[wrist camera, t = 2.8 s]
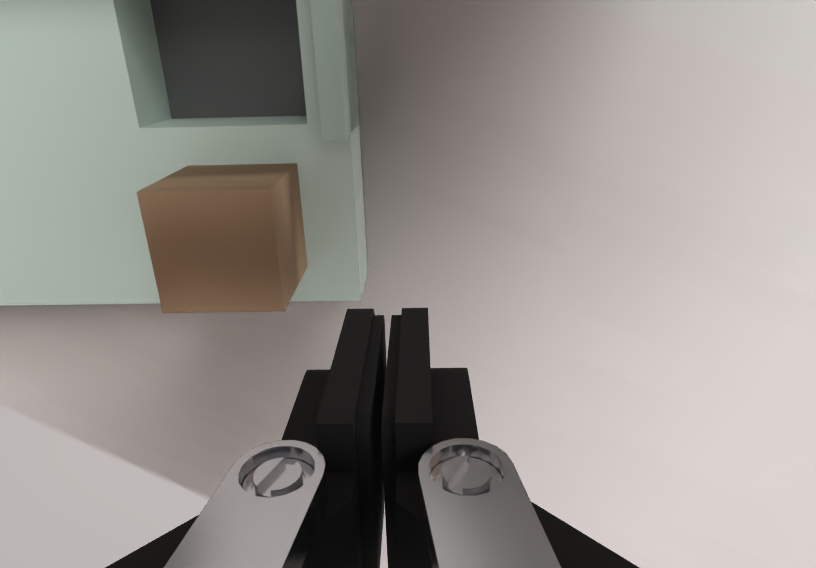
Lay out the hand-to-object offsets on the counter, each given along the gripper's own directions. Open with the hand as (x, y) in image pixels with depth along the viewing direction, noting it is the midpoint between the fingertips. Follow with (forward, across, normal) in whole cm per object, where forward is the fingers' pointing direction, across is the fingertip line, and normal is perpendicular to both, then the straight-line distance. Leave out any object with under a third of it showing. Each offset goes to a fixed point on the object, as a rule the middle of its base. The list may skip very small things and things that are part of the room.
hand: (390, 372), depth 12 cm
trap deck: (+13, +13, -4) cm, 19 cm away
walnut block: (+10, +6, -1) cm, 12 cm away
